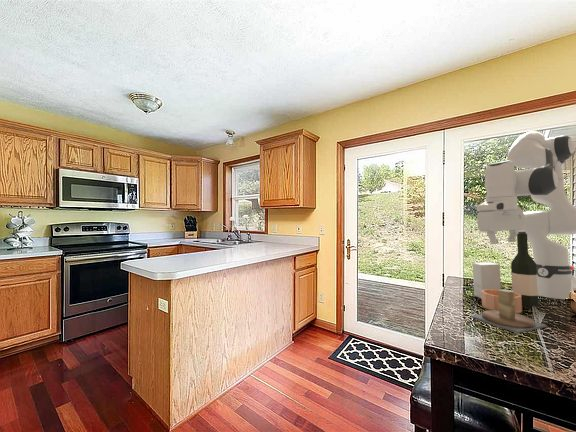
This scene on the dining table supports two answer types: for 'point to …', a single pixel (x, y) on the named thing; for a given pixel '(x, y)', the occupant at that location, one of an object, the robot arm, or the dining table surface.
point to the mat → (513, 329)
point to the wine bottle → (524, 273)
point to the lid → (508, 312)
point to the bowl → (492, 300)
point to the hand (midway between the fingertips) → (503, 243)
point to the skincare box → (486, 277)
